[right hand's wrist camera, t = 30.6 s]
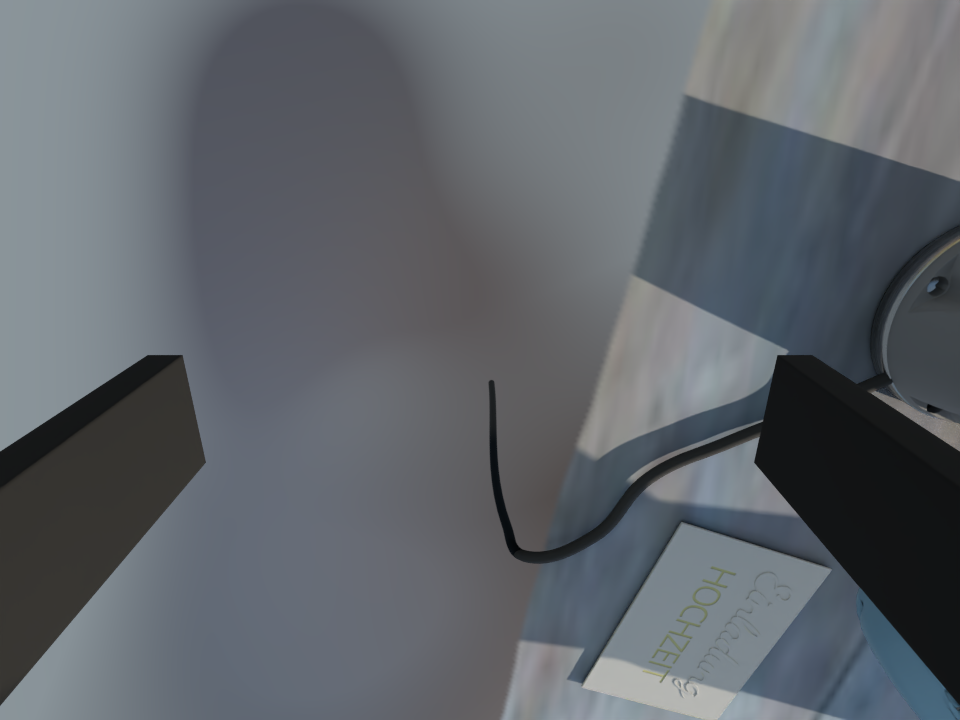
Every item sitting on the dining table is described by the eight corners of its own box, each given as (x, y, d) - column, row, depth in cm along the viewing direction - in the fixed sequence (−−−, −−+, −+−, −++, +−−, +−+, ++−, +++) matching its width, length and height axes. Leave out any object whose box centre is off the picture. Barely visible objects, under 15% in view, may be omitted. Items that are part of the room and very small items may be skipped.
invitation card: (682, 523, 47) (832, 570, 49) (681, 521, 47) (830, 568, 49) (581, 688, 55) (715, 723, 57) (581, 685, 55) (714, 720, 57)
